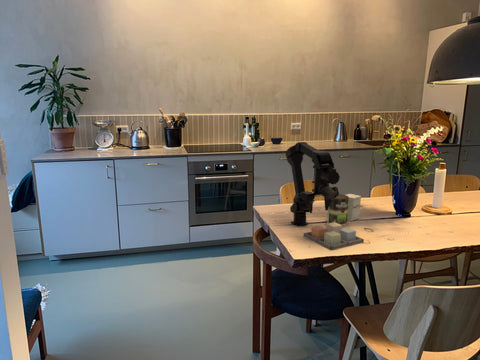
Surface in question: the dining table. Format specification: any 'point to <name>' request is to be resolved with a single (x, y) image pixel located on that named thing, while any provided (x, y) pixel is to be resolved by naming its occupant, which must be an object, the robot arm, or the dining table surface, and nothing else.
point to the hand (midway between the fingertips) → (318, 211)
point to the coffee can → (338, 210)
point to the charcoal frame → (336, 237)
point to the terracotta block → (318, 231)
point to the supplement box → (353, 207)
